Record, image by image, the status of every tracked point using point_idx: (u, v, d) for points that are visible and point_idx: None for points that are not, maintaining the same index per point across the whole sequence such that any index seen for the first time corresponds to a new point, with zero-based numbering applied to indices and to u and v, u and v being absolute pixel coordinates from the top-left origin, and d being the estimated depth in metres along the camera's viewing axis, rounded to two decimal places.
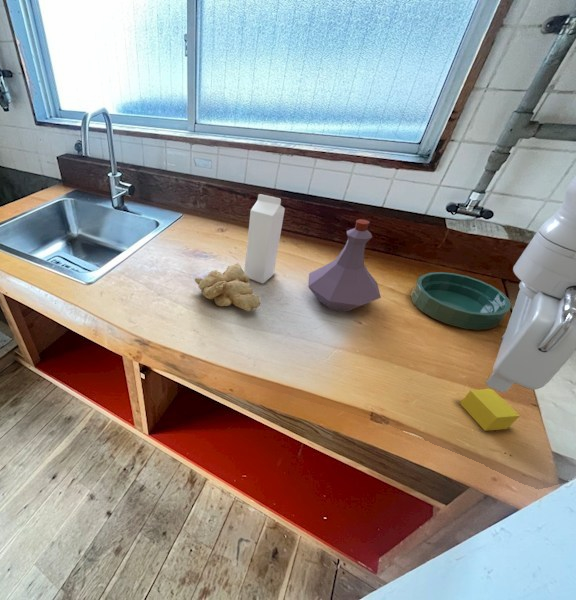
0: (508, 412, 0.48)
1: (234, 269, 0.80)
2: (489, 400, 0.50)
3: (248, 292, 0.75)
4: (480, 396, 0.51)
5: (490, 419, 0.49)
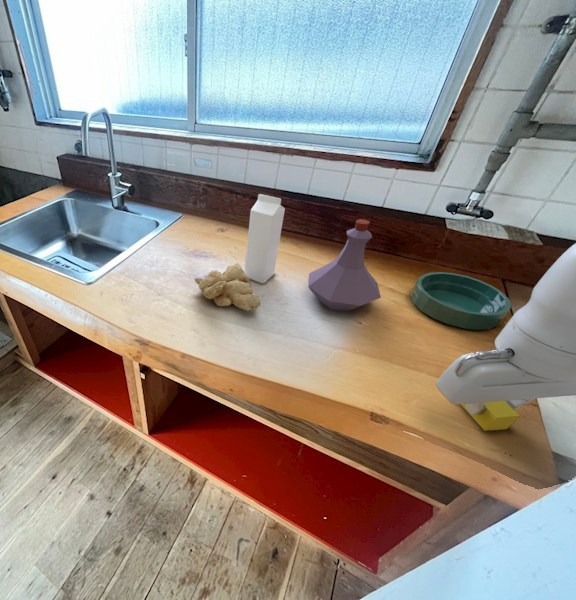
0: (508, 412, 0.48)
1: (234, 269, 0.80)
2: None
3: (248, 292, 0.75)
4: None
5: (490, 419, 0.49)
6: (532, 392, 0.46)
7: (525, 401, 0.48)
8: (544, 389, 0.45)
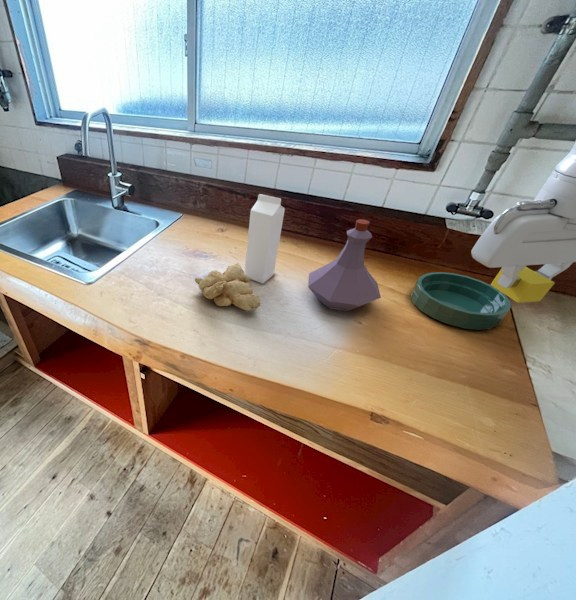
0: (543, 280, 0.48)
1: (234, 269, 0.80)
2: (522, 273, 0.50)
3: (248, 292, 0.75)
4: None
5: (524, 288, 0.48)
6: (570, 252, 0.45)
7: (560, 269, 0.48)
8: None
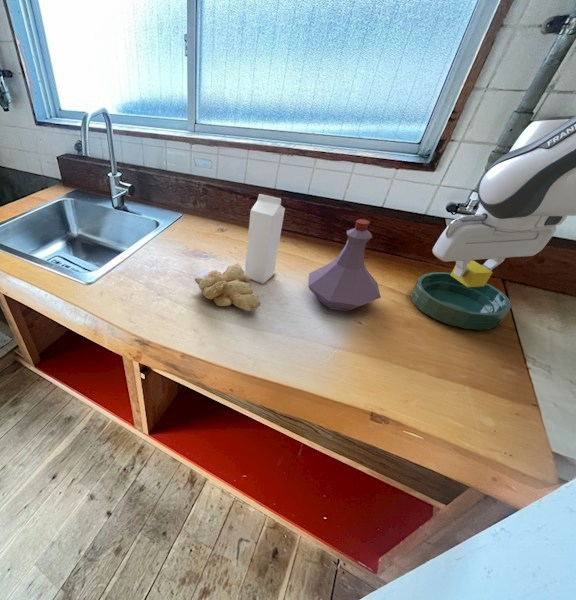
0: (484, 270, 0.66)
1: (234, 269, 0.80)
2: (471, 265, 0.68)
3: (248, 292, 0.75)
4: None
5: (471, 277, 0.67)
6: (501, 250, 0.64)
7: (497, 263, 0.66)
8: (509, 248, 0.63)
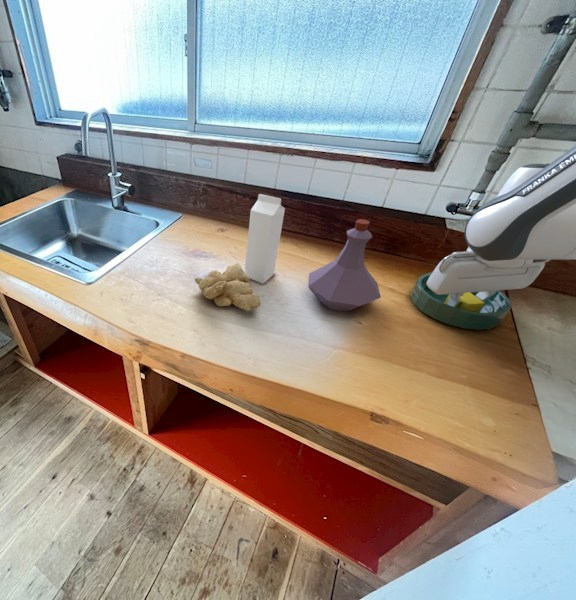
0: (476, 301, 0.69)
1: (235, 269, 0.80)
2: (463, 295, 0.71)
3: (248, 292, 0.75)
4: None
5: (464, 307, 0.69)
6: (492, 284, 0.66)
7: (489, 295, 0.69)
8: (500, 282, 0.66)
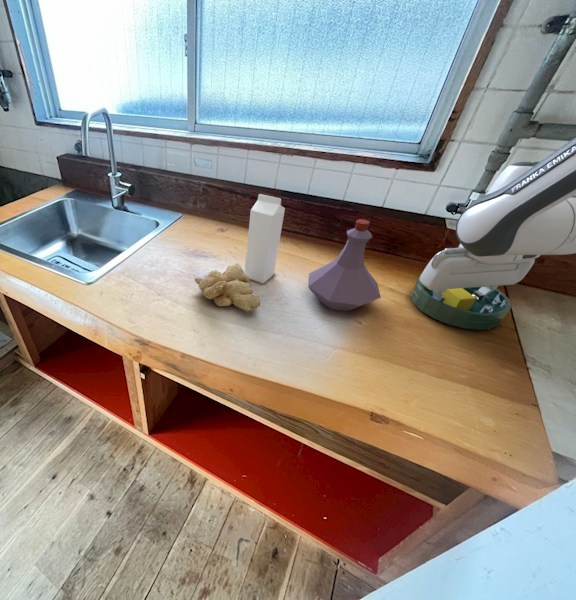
0: (468, 296, 0.70)
1: (234, 269, 0.80)
2: (456, 291, 0.72)
3: (248, 292, 0.75)
4: (450, 289, 0.73)
5: (456, 302, 0.71)
6: (483, 280, 0.68)
7: (491, 290, 0.70)
8: (491, 278, 0.67)
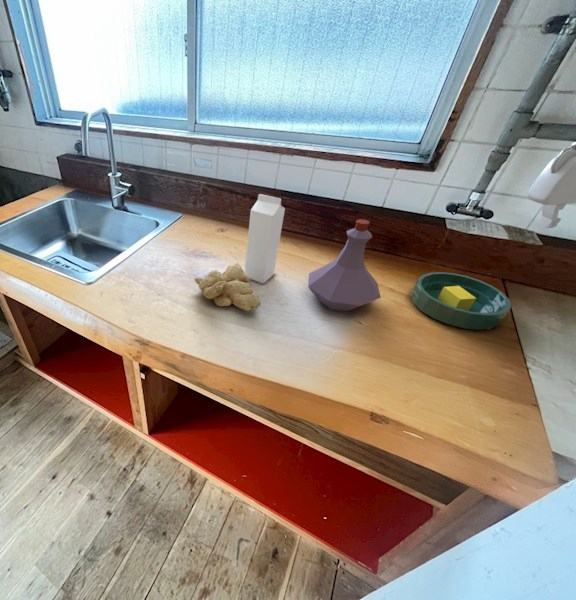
0: (468, 296, 0.70)
1: (234, 269, 0.80)
2: (456, 291, 0.72)
3: (248, 292, 0.75)
4: (450, 289, 0.73)
5: (456, 302, 0.71)
6: None
7: None
8: None
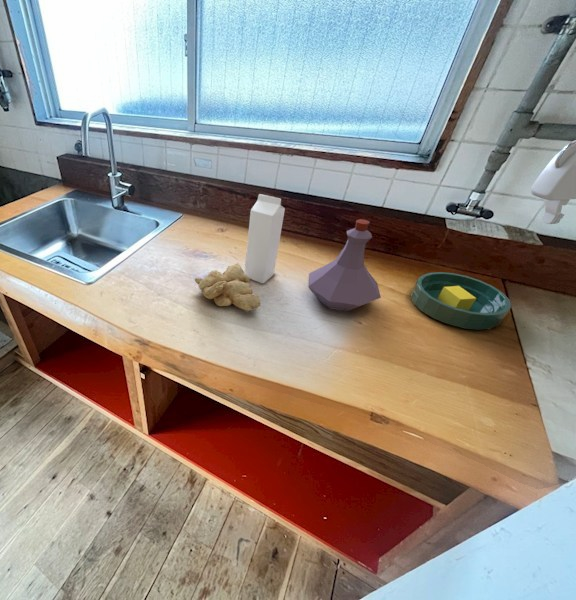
0: (468, 296, 0.70)
1: (234, 269, 0.80)
2: (456, 291, 0.72)
3: (248, 292, 0.75)
4: (450, 289, 0.73)
5: (456, 302, 0.71)
6: None
7: None
8: None
